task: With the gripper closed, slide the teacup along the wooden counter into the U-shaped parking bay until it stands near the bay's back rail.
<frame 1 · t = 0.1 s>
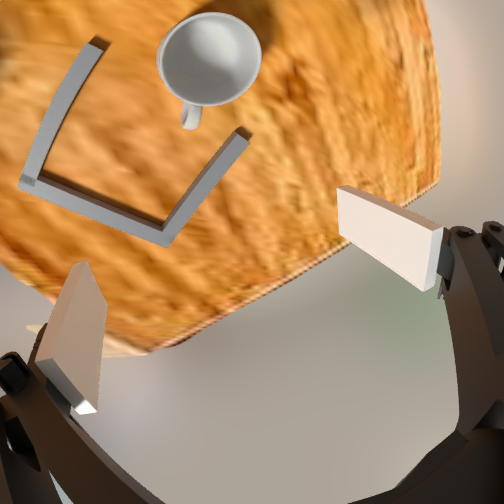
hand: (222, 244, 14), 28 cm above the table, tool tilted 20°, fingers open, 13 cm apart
teacup: (192, 65, 30), on the table
parking bay: (130, 151, 35), on the table
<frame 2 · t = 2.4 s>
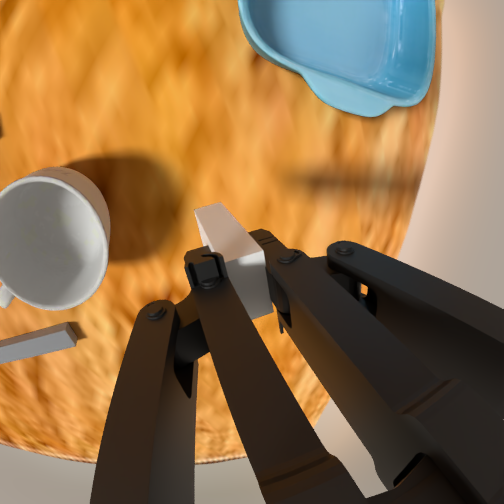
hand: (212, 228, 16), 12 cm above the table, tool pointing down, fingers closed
teacup: (55, 224, 23), on the table
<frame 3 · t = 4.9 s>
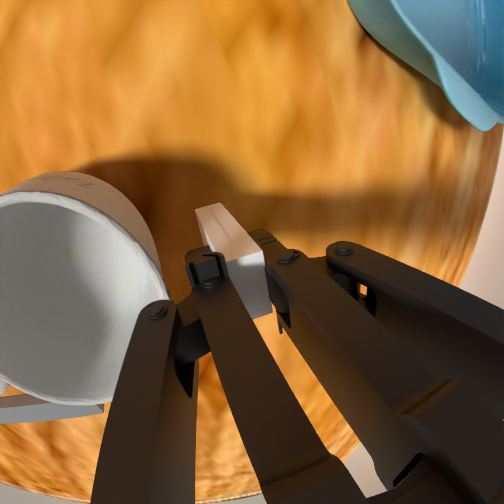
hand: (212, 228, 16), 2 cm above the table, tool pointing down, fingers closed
teacup: (63, 260, 16), on the table, touching gripper
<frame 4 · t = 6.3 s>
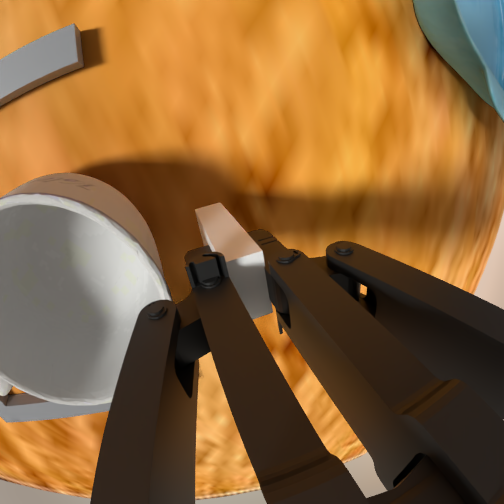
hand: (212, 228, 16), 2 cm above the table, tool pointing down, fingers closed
teacup: (64, 261, 16), on the table, touching gripper
parking bay: (5, 280, 14), on the table
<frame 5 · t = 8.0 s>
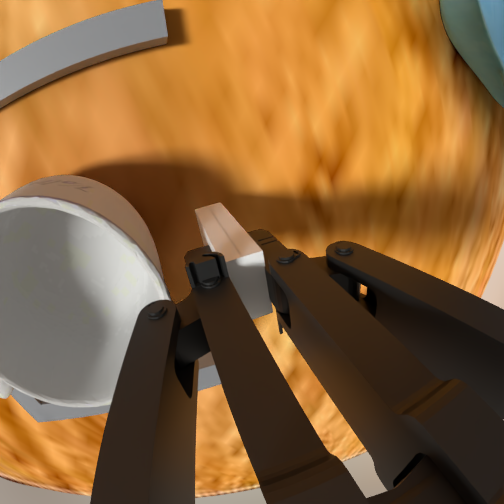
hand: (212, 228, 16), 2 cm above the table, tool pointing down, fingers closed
teacup: (64, 263, 16), on the table, touching gripper
parking bay: (56, 263, 15), on the table
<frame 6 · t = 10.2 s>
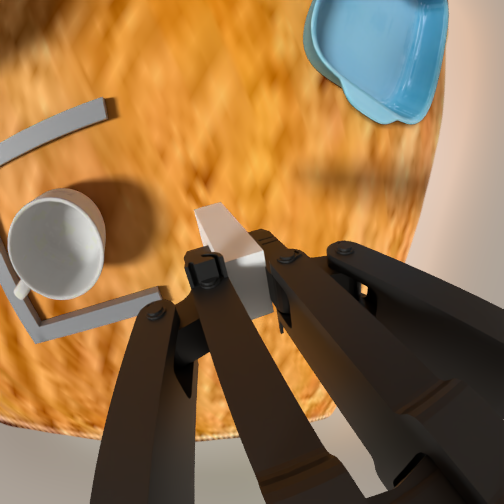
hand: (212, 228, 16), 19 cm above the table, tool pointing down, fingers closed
casserole dish: (367, 18, 30), on the table
teacup: (62, 233, 30), on the table
parking bay: (57, 233, 29), on the table
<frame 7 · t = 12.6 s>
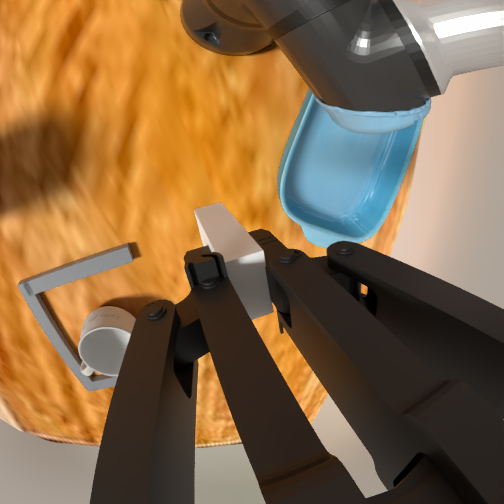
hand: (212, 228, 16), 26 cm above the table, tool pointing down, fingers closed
casserole dish: (341, 134, 45), on the table
teacup: (107, 327, 45), on the table
parking bay: (104, 327, 45), on the table
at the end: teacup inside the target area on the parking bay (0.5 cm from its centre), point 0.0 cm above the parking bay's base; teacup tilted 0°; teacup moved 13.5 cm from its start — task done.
